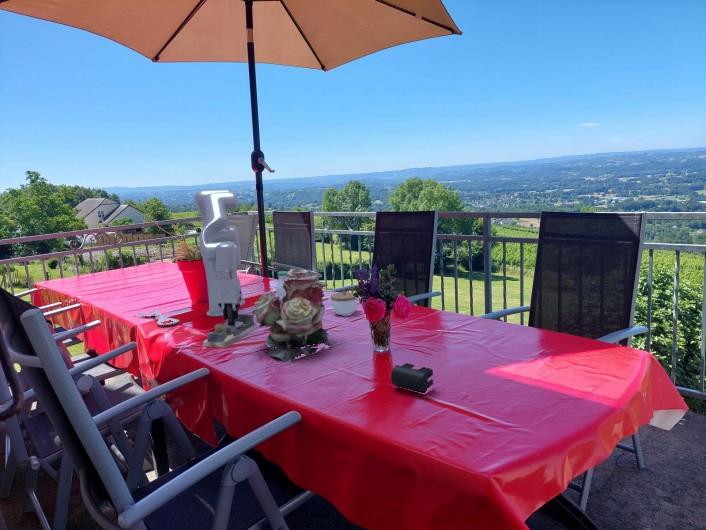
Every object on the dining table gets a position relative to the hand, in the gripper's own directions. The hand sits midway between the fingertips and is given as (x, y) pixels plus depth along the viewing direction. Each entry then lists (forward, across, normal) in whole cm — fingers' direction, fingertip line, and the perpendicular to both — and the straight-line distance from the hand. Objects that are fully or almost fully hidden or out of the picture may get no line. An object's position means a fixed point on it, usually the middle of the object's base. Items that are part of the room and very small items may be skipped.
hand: (231, 318), depth 185 cm
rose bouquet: (+8, +32, -12) cm, 35 cm away
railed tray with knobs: (+7, 0, -1) cm, 7 cm away
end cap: (+8, +78, -41) cm, 88 cm away
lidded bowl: (+7, +38, +36) cm, 53 cm away
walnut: (+5, 0, -8) cm, 10 cm away
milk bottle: (+7, +8, +36) cm, 38 cm away
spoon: (+8, -47, +18) cm, 51 cm away
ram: (+5, 0, -1) cm, 5 cm away
